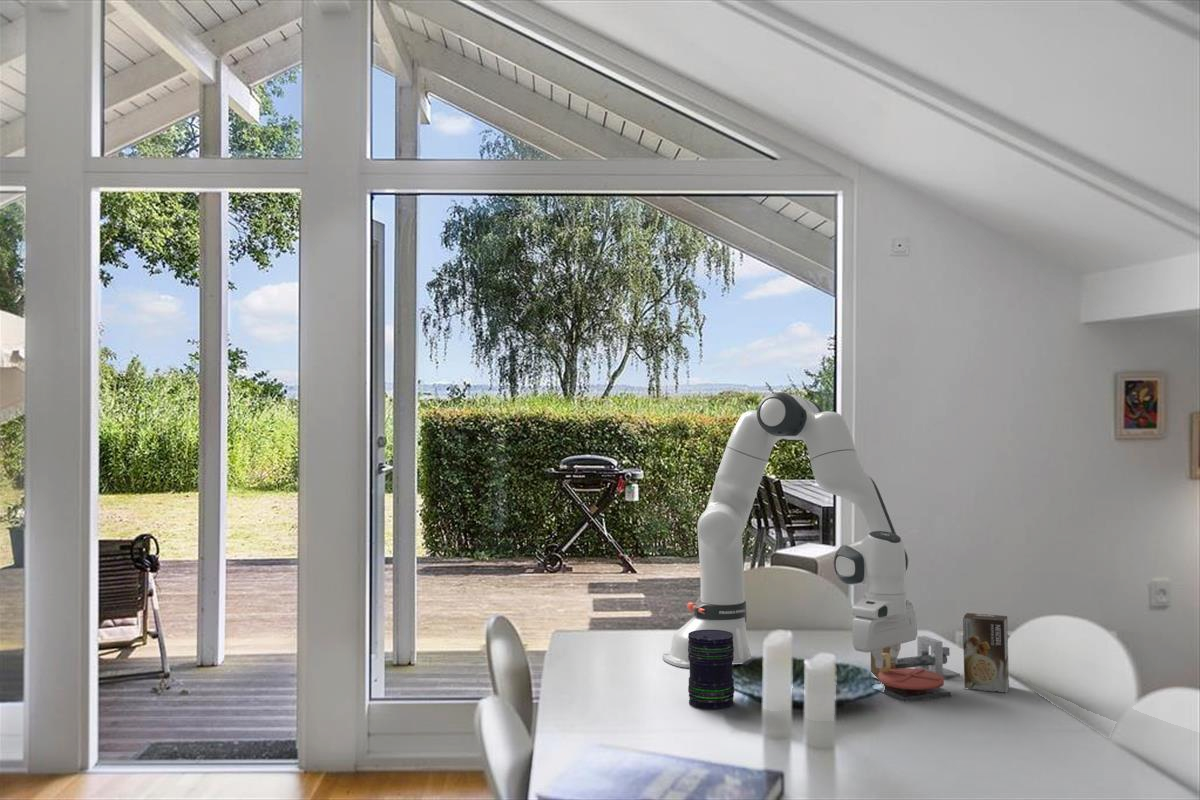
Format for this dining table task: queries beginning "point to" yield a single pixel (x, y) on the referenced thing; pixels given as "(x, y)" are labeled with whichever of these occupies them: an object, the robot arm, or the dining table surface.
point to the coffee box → (985, 652)
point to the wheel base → (915, 693)
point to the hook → (909, 661)
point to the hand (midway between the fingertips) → (886, 665)
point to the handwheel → (908, 677)
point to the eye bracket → (933, 656)
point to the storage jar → (711, 669)
